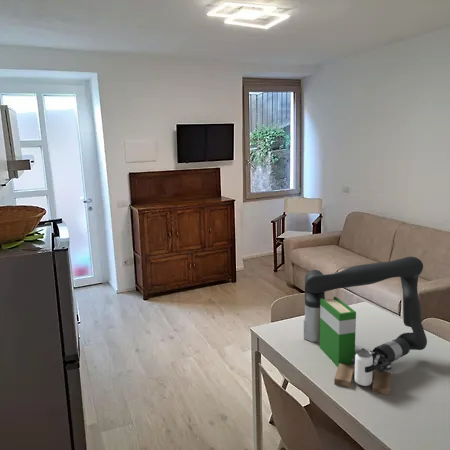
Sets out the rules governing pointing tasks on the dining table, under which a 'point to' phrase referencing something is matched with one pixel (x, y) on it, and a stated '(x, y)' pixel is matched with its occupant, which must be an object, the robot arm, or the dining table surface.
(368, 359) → the can
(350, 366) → the notched board
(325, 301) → the hardback book
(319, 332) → the robot arm
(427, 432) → the dining table surface
